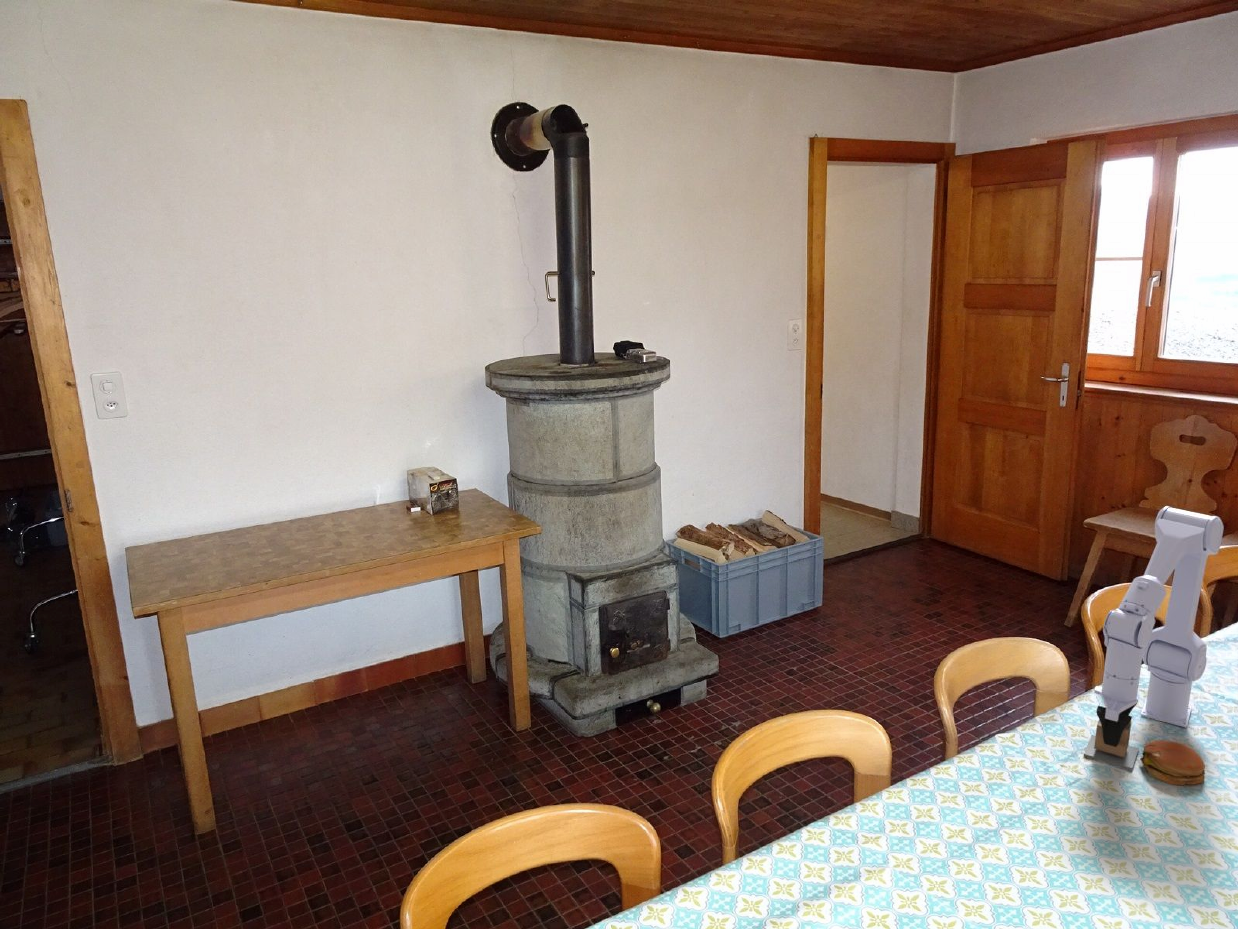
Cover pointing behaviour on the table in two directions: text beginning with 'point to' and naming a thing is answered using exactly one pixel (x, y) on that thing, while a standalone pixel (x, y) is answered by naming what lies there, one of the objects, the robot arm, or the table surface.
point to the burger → (1173, 763)
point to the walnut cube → (1118, 750)
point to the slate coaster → (1112, 756)
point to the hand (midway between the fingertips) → (1113, 737)
